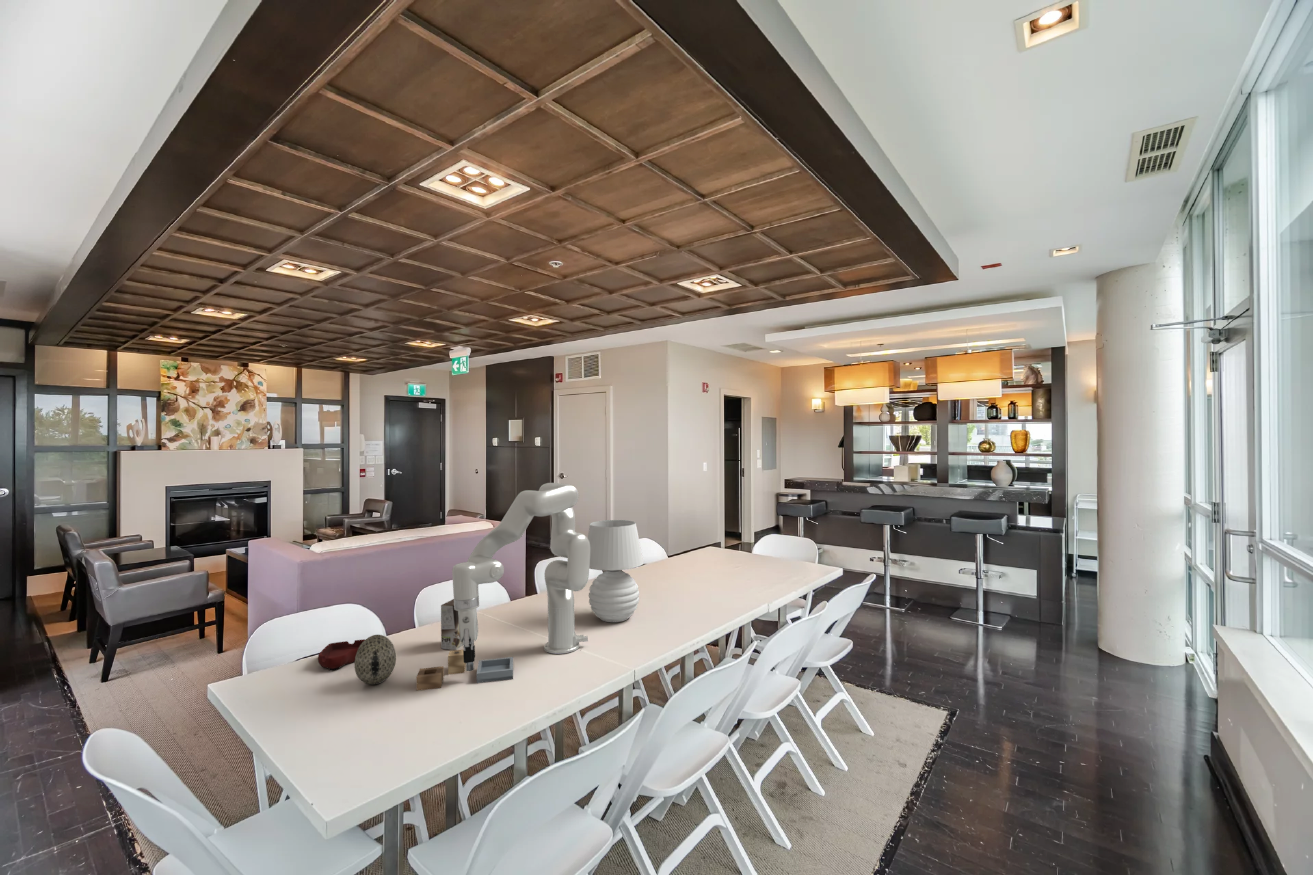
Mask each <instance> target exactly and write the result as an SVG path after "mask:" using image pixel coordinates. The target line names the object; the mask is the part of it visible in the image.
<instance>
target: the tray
mask: <svg viewBox="0 0 1313 875" xmlns="http://www.w3.org/2000/svg"><path fill="white" fill-rule="evenodd" d="M508 680H514V657H513V656H508V657H498V658H490V659H489V658H487V659H480V660H478V664H477V670H476V684H480V683H481V684H482V683H490V682H491V683H493V682H499V681H508Z"/></svg>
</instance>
